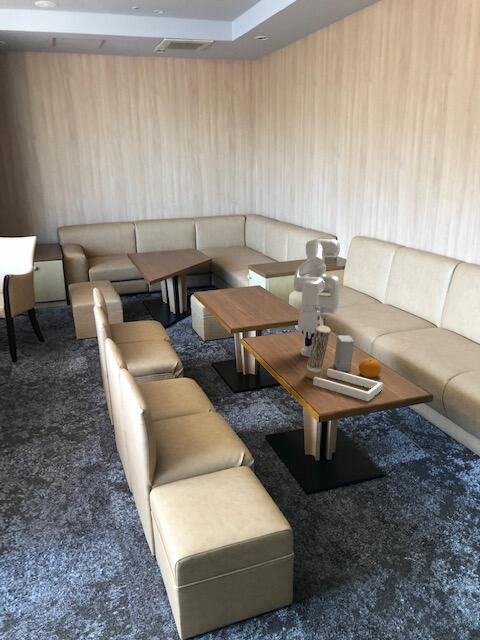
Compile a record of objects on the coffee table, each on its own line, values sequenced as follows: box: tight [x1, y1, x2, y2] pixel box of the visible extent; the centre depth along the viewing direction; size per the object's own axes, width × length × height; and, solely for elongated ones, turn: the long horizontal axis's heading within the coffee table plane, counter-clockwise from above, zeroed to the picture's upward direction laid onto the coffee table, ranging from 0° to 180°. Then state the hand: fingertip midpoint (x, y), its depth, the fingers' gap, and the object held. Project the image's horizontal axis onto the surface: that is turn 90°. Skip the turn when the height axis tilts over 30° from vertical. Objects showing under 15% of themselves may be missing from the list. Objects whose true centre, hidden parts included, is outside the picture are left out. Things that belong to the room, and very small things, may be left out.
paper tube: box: [305, 324, 331, 380], centre depth 242 cm, size 7×7×25 cm
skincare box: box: [333, 334, 355, 372], centre depth 256 cm, size 8×7×16 cm
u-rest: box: [312, 368, 384, 402], centre depth 236 cm, size 14×27×4 cm, turn 52°
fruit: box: [358, 357, 382, 378], centre depth 249 cm, size 10×10×8 cm
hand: (308, 345), depth 245 cm, fingers closed
